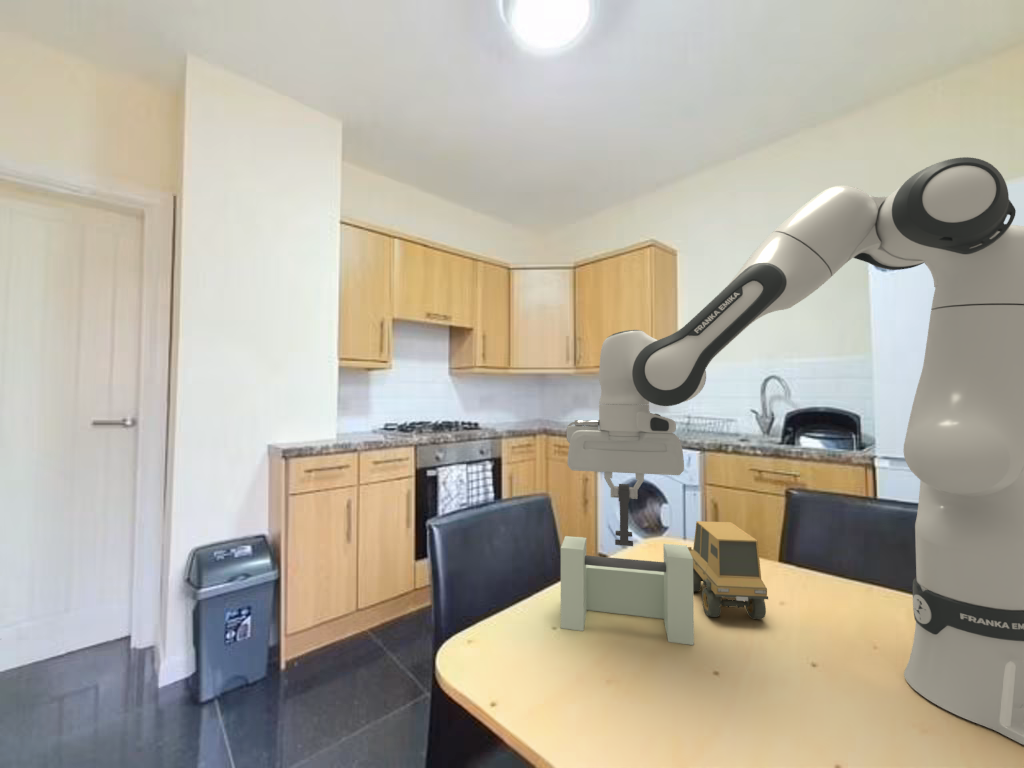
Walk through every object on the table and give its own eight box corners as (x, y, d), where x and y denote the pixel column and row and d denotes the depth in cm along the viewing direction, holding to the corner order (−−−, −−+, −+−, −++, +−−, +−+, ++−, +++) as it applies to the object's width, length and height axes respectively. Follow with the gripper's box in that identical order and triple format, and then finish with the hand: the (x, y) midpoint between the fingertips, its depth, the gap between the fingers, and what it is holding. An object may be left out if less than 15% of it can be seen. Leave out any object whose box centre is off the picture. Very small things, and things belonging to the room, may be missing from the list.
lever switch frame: (685, 616, 82) (684, 540, 83) (693, 645, 73) (692, 558, 73) (567, 602, 87) (567, 531, 88) (560, 628, 78) (560, 547, 78)
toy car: (730, 585, 97) (729, 516, 97) (773, 630, 78) (771, 544, 78) (681, 583, 98) (681, 514, 98) (712, 626, 79) (711, 541, 79)
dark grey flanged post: (632, 534, 82) (632, 484, 82) (633, 546, 76) (633, 491, 76) (615, 533, 83) (615, 483, 83) (615, 544, 76) (615, 490, 77)
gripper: (564, 420, 79) (564, 497, 79) (685, 422, 74) (685, 505, 74) (568, 418, 85) (568, 490, 85) (680, 421, 81) (680, 497, 80)
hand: (623, 497), depth 79 cm, fingers closed on dark grey flanged post, 2 cm apart
